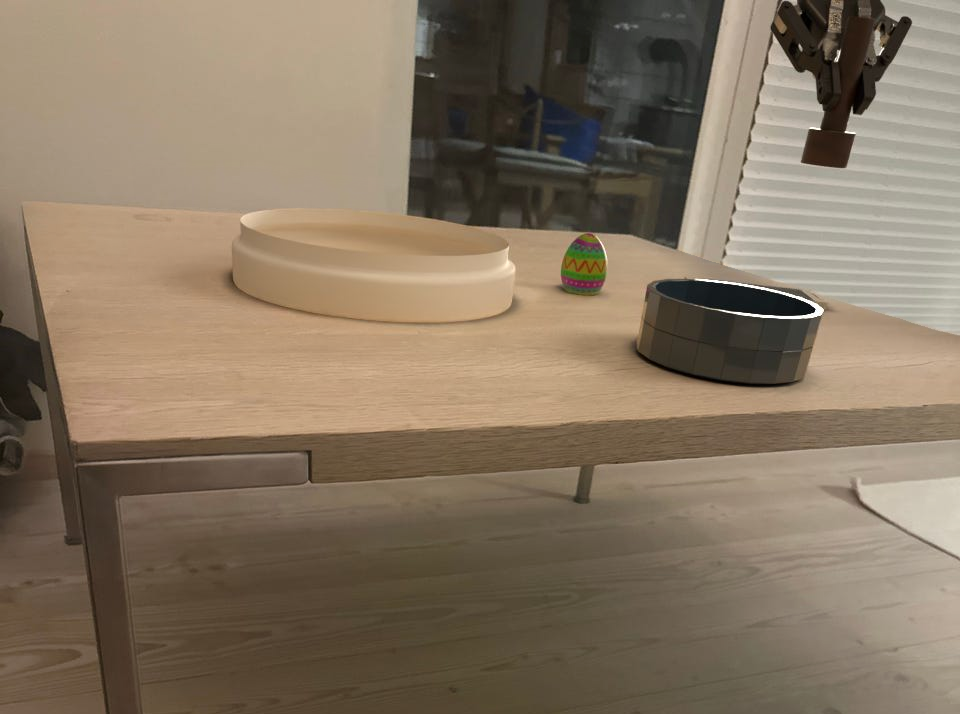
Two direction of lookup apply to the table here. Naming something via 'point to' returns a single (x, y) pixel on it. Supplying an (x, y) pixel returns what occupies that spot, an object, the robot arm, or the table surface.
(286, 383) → the table surface
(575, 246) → the egg
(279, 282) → the cream round tray
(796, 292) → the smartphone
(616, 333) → the table surface
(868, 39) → the muddler
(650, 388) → the table surface
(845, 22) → the robot arm
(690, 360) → the bowl
